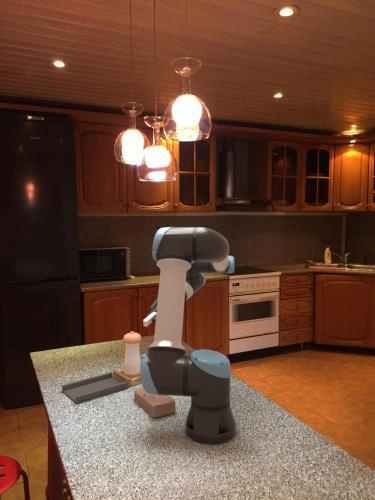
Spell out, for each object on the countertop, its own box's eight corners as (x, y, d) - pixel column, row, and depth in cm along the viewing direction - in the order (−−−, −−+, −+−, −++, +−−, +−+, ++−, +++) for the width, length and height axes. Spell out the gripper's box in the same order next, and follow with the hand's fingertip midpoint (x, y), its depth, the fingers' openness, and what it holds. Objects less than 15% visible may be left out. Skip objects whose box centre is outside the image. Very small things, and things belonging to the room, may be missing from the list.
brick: (132, 400, 140) (132, 387, 139) (153, 394, 144) (153, 382, 144) (153, 420, 125) (153, 406, 125) (176, 414, 130) (176, 400, 129)
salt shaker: (132, 384, 152) (132, 335, 151) (119, 379, 156) (118, 332, 155) (145, 378, 158) (145, 331, 156) (132, 374, 162) (132, 328, 161)
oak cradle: (138, 371, 165) (137, 364, 165) (153, 379, 157) (153, 372, 156) (113, 378, 158) (112, 370, 158) (127, 387, 149) (127, 379, 149)
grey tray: (111, 377, 158) (111, 372, 158) (127, 388, 148) (127, 382, 148) (62, 391, 146) (62, 385, 146) (76, 404, 136) (76, 397, 136)
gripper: (192, 306, 170) (157, 338, 153) (168, 294, 176) (132, 323, 159) (193, 293, 166) (158, 323, 149) (168, 281, 172) (131, 309, 155)
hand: (144, 323), depth 154 cm, fingers closed
